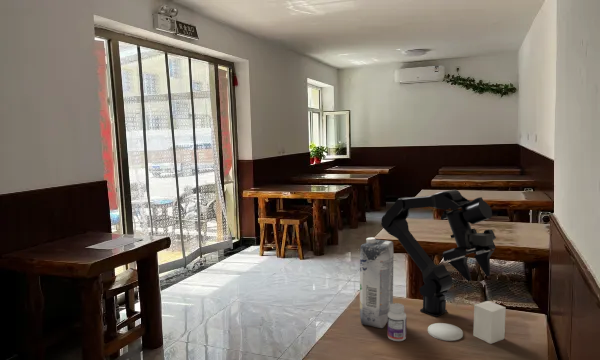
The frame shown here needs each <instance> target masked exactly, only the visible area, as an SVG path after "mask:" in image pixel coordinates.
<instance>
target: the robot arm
mask: <svg viewBox="0 0 600 360" xmlns="http://www.w3.org/2000/svg"><path fill="white" fill-rule="evenodd" d="M419 208H421V209H422V208H433V209H438V210H442V211H443V213H442V215H441V217H440V219H441V220H446V219H447V221H448V224H449V227H450V229H451V230H450V231H451V233H452V234H450V238H451V239H454V242H455V245H457V247H455V248H451V249H449V250H445V251H443V252H442V259H443V262H447V264H448V265H451V266H452V267H453V268H454V269H455V270H456V271H457V272H458V273H459V274H460V275H461V276H462V277H463V278H464V279H465V280H466V281H467V282H469V283H470V282H472V276H471V271H470V269H469V265H468V260H469V256H467V255H469V254H474V255H473V257H474V259H475V260H476V262H477V263H478V266H479V267H480V269H481V270H482V271H483V273H484V275H485V276H486V277H489V276H491V264H490V263H491V256H492V254H493V253H494V251H495V249H497V247H496V244H495V242H494V240H495V239H496V238H497V236H496V234H495V233H494V230H493V229H485V230H483V232H477V229H476V228H472V227H471V225H475V224H478V223H481V222H483V221H487V220H490V219H491V218H492V216H493V211H492V208H491V206H490V205H489V204H488V202H486V201H485V200H484V199H483V197H482V196H480V197H476V198H474V199H473V200H469V199H468V198H466V197H465V196H464V195H462V194H461V192H460V191H459V190H458V189H451V190H450V189H449V190H444V191H440V192H437V193H433V194H431V195H425V196H423V195H422V196H412V197H411V196H410V197H408V196H404V197H400V198H397V199H396V201H395V202H394V204H392V205H391V207H390V208H388V210H387V211H386V212H385V213H384V215H383V216H382V218H381V220H380V221H381V227H382V229H383V230H385V232H387V234H389V235H391V236H392V237H395V238H396V239H397V240H398V242H399V243H400V244H401V245H402V247H403V248H404V249H405V251H406V252H407V254H408V255H409V256H410V257H411V259H412V260H413V262H414V263H415V265H416V266H417V267H418V268H419V270H420V271H421V274H422V280H423V282H424V284H423V285H421V286H420V287H419V288H418V290H419V293H420V296H422V297H423V298H422V308H421V309H419V312H422V313H425V314H427V315H430V316H433V317H435V318H436V317H439V316H441V315H443V314H445V313H447V312H448V309H446V308H447V301H446V295H445V294H448V292H449V289H451V288H452V287H453V277H452V276H451V275H452V273H451V272H449V271H448V269H447V268H446V266H445V265H444V264H440V265H438V264H436V263H434V261H433V260H432V259H431V257H430V256H429V254H428V253H427V252H426V251H425V249H424V248H423V247H422V246H421V244H420V243H419V242H418V240H417V239H416V238H415V237H414V236H413V234H412V233H411V231H410V228H409V222H408V221H407V219H408V218H409V213H410V209H419ZM460 209H461V210H460ZM450 210H451V211H450Z"/></svg>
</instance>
